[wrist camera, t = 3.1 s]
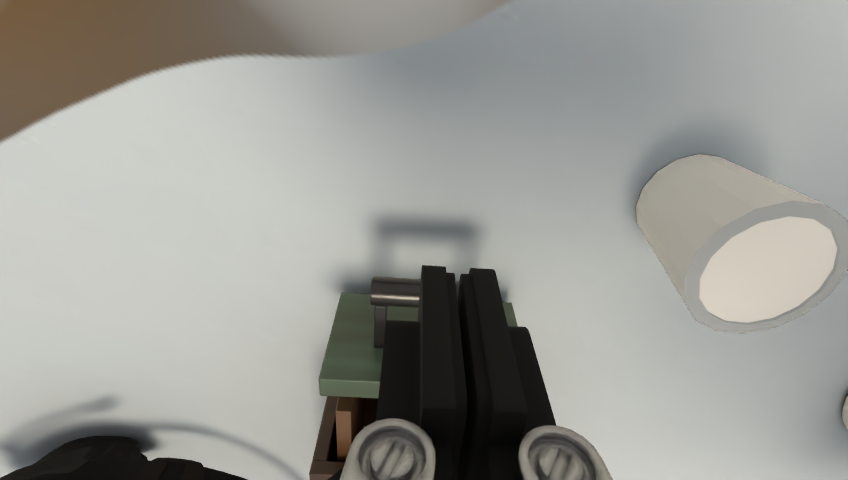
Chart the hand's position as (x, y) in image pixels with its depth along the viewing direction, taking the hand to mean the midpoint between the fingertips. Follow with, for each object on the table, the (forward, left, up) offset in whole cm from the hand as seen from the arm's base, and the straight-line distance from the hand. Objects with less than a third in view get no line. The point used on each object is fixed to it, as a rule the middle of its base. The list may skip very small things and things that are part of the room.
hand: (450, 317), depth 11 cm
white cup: (-14, +3, -15) cm, 21 cm away
